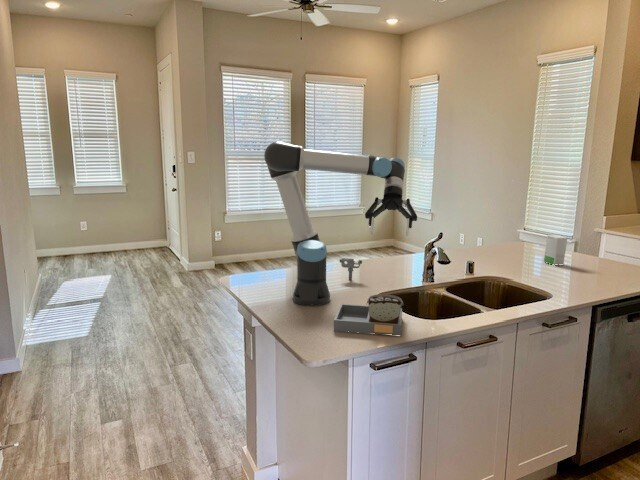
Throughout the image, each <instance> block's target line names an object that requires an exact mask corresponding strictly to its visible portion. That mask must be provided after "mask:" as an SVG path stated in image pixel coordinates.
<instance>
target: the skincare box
mask: <svg viewBox="0 0 640 480" xmlns="http://www.w3.org/2000/svg"><path fill="white" fill-rule="evenodd" d="M567 243H568V237H565V236H562V235H559V234H547V235H546V242H545V249H544V257H543V263H544V262H547V263H550V264H554V265H555V264H563V265H564V263H565V255H566V250H567ZM547 263H546V264H547ZM550 264H549V265H550Z"/></svg>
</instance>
